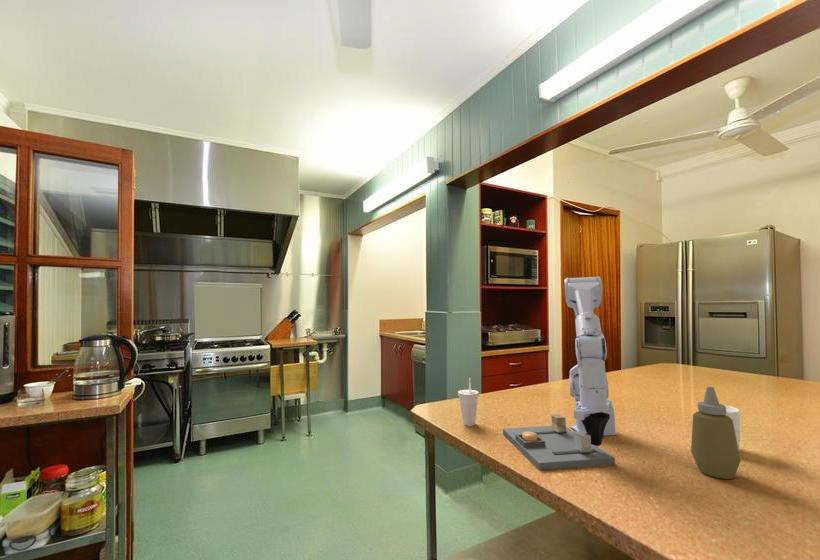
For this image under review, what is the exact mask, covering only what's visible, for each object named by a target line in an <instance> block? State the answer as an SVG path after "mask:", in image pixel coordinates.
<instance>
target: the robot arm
mask: <svg viewBox="0 0 820 560" xmlns="http://www.w3.org/2000/svg"><path fill="white" fill-rule="evenodd" d="M602 281H603V280H602V278H601V277H600V276H598V275H597V276H588V277H587V276H586V277H585V276H584V277H566V278H565V279H564V291H565V292H564V296H565V303H566V304H567V305H566V306H567V307H569V308H570V309H573V312H574V314H575V320H574V322H575V333H576V338H575V341H574V342H575V345H574V346H575V347H574V348H575V357H576V361H577V364H576V365H574V366H573V367H572V368H570V370H569V378H568V380H569V395H570V396H571V397H572V398H574V402H575V409H573V418H574V419H575V424H574V425H569V427H570V428H571V430H574V431H584V432H586V433H588V434H589V435H591V444H592V445H595V446H597V447H600V446H602V443H603V439H604V436H615V435H616V436H618V432H617V431H616V420H615V419H616V418H615V417H616V416H615V410H614V405H613V401H612V400H611V399H608V398H609V397H610V396H609V393H610V392H609V381H608V376H607V373H606V365H605V364H606V363H605V362H606V360H607V354H608V351H607V343H606V342H607V341H606V338H605V336H604V333H603V332H602V327H601V321H600V318H599V316H598V315H597V314H596V313H595V312H594V309H595V308H598V307H599V306H601V303H602V297H603V282H602Z"/></svg>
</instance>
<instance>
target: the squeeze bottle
mask: <svg viewBox="0 0 820 560" xmlns="http://www.w3.org/2000/svg"><path fill="white" fill-rule="evenodd" d="M705 389H706V390H705V393H704V398H703V401H699V402H697V411H696V412H694V413H693V414H692V424H691V426H692V428H691V441H690V442H691V445H690V452H691V454H692V456H693V459H694V461H695V464H696V466H697V468H698V470H699V472H702V474H705V475H707V476H710V477H714V478H717V479H718V478H719V479H724V480H732V479H735V476H736V474H737V471H738V470H739V469H738V468H739V467H740V466H739V465H740V463H741V455H740V451H739V450H738V445H737V440H736V435H735V430H734V425H733V420H732V419H731V418H730V417H728V416H727V415H725V414H726V406H724V405H725V404H721V403H720V402H719V400H718V396H717V393H716V390H715V388H714V387H713V386H706V388H705Z"/></svg>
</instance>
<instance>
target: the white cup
mask: <svg viewBox="0 0 820 560" xmlns="http://www.w3.org/2000/svg"><path fill="white" fill-rule="evenodd" d="M723 405H724V406H726V414H725V415H727V416H728V417H730V418H731V419H732V420H733V425H734V430H735V435H736V440H737V445H738V450H739V452H740V451H741V450H740V442H741V420H740V419H741V418H740V415H741V410H740V409H739V408H737V407H734V406H730V405H726V404H723Z"/></svg>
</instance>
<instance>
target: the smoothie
mask: <svg viewBox="0 0 820 560" xmlns="http://www.w3.org/2000/svg"><path fill="white" fill-rule="evenodd" d="M471 380H472V379H471V377H468V389H461V390H458V391H457V396H458V397H459V405H460V411H461V419H462V425H463V426H466V425H467V427H474V426H475V425H476V419H477V409H478V397H479V391H478V390H475V389H472V386H471V385H472V384H471ZM473 425H474V426H473Z"/></svg>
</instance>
